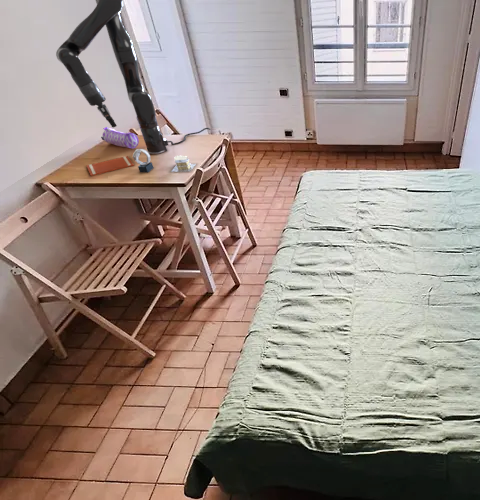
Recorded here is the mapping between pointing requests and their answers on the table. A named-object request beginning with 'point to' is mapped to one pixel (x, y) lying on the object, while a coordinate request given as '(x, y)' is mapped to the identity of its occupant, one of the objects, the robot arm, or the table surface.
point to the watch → (143, 166)
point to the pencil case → (120, 138)
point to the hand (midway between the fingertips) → (113, 124)
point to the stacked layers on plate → (182, 164)
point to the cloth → (109, 165)
